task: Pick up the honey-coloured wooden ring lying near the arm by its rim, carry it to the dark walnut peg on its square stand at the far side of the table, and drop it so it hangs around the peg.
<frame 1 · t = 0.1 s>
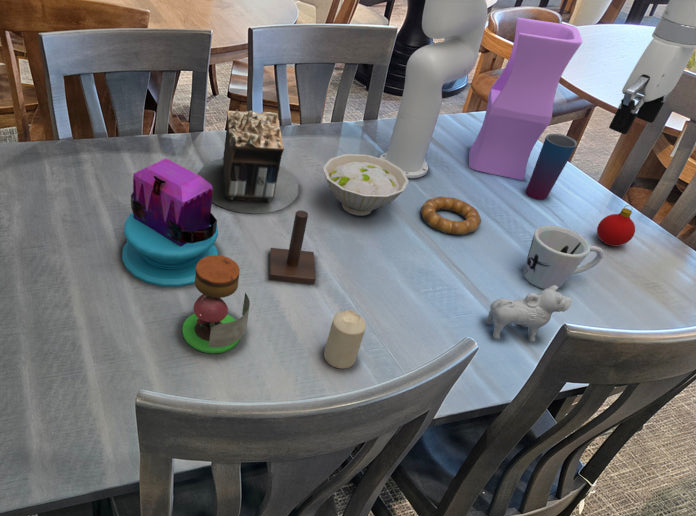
hand: (631, 125, 117), 31 cm above the table, tool pointing down, fingers open, 9 cm apart
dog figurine: (515, 331, 119), on the table
christmas ornament: (607, 243, 143), on the table
mug: (552, 279, 131), on the table
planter: (247, 185, 154), on the table
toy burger: (211, 335, 114), on the table
cup: (535, 195, 158), on the table
candle: (339, 358, 111), on the table
decorative object: (170, 256, 131), on the table
bowl: (356, 207, 149), on the table
ring: (450, 215, 145), point 1 cm above the table
container: (495, 163, 169), on the table
post: (291, 268, 129), on the table
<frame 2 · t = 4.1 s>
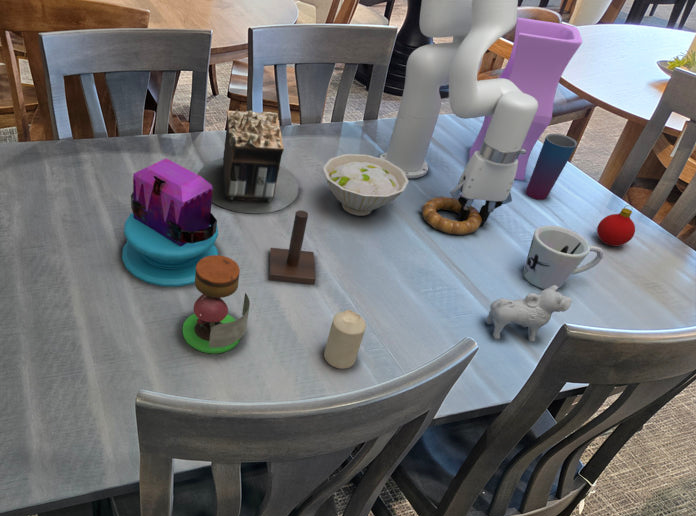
hand: (470, 221, 146), 0 cm above the table, tool pointing down, fingers closed on ring, 3 cm apart
ring: (451, 215, 145), point 2 cm above the table, touching gripper
everything else where it was.
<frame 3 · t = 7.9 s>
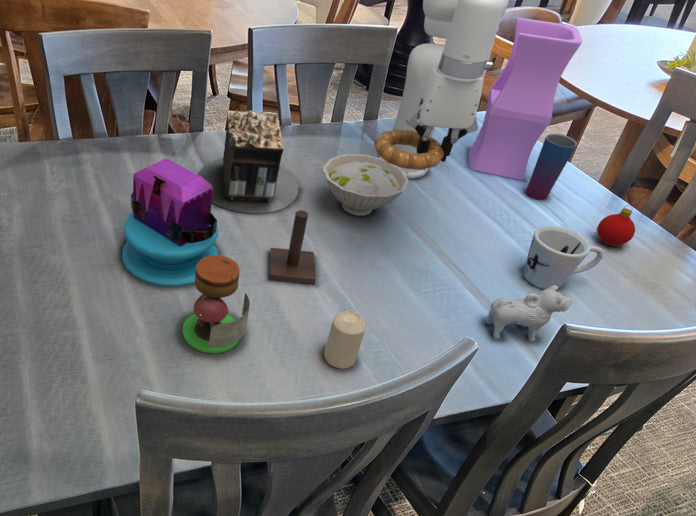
hand: (431, 156, 124), 22 cm above the table, tool pointing down, fingers closed on ring, 3 cm apart
ring: (408, 148, 124), point 23 cm above the table, touching gripper
everything else where it was.
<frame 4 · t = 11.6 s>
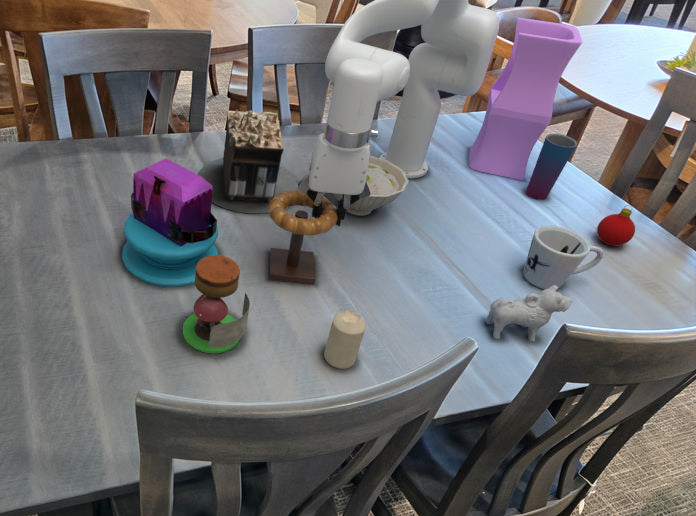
hand: (327, 220, 121), 13 cm above the table, tool pointing down, fingers closed on ring, 3 cm apart
ring: (302, 212, 120), point 14 cm above the table, touching gripper
everything else where it was.
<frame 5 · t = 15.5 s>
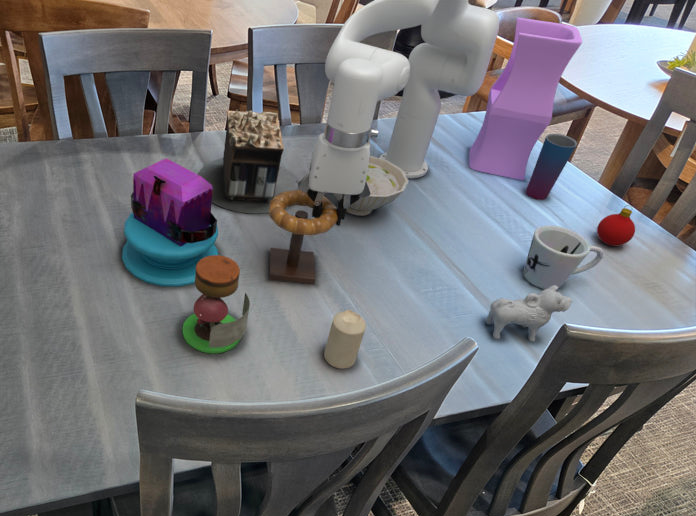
hand: (327, 219, 121), 13 cm above the table, tool pointing down, fingers closed on ring, 3 cm apart
ring: (302, 211, 120), point 14 cm above the table, touching gripper
everything else where it was.
when the fingers open (13 cm above the table, at t = 19.2 s): ring drops 11 cm, resting on post.
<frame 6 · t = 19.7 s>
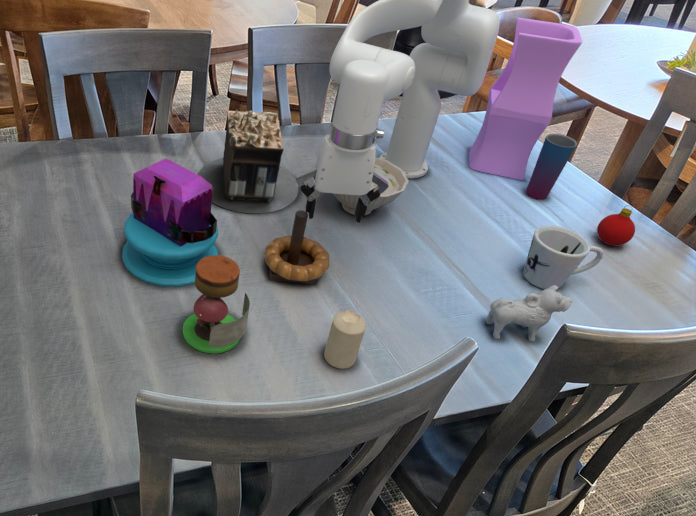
hand: (333, 216, 121), 13 cm above the table, tool pointing down, fingers open, 8 cm apart
ring: (296, 257, 127), point 3 cm above the table, touching post
everything else where it was.
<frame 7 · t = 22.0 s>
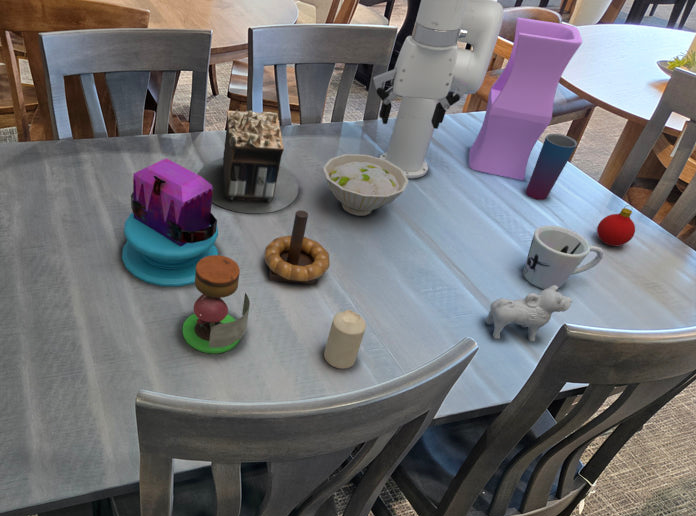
hand: (409, 123, 122), 27 cm above the table, tool pointing down, fingers open, 9 cm apart
nothing on the table moved.
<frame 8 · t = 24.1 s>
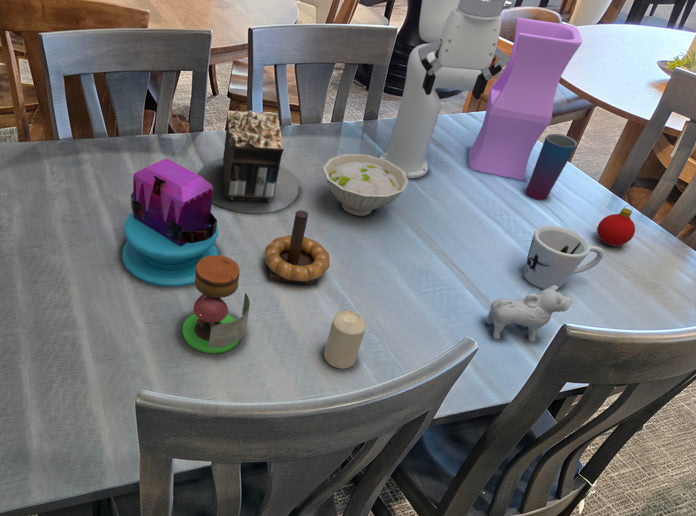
hand: (451, 94, 126), 30 cm above the table, tool pointing down, fingers open, 9 cm apart
nothing on the table moved.
at the end: ring 0.7 cm from the post (horizontally); ring point 3.0 cm above the table; the gripper is holding nothing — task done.
